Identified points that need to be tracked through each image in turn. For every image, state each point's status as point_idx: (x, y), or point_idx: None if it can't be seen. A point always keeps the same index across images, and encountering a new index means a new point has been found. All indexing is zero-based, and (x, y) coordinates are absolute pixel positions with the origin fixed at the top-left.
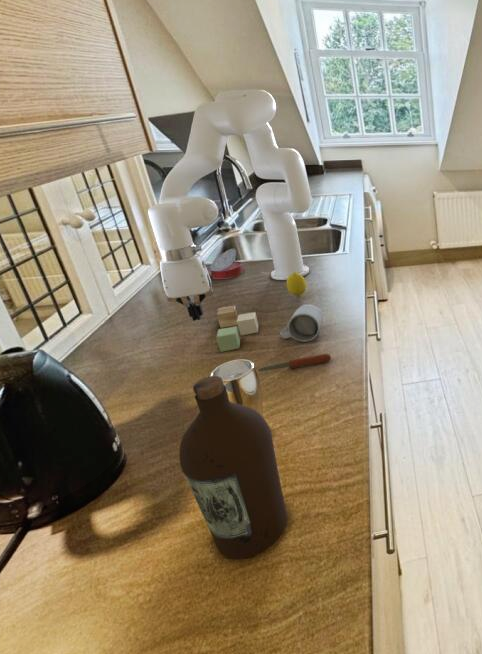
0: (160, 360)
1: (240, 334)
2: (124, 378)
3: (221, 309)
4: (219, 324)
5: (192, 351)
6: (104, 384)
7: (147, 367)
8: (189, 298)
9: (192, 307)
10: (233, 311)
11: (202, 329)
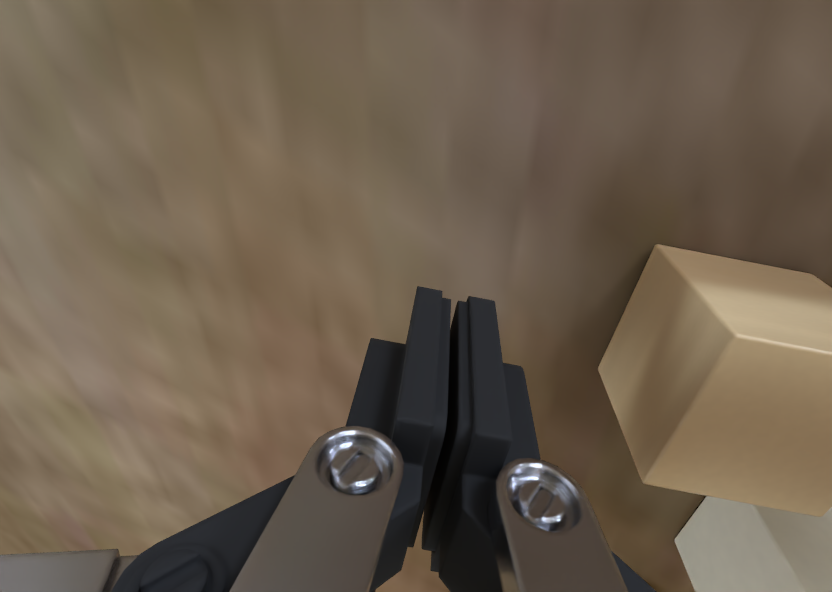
0: None
1: (678, 547)
2: None
3: (745, 399)
4: (607, 389)
5: None
6: None
7: None
8: (374, 572)
9: (410, 545)
10: (820, 516)
11: (457, 301)
